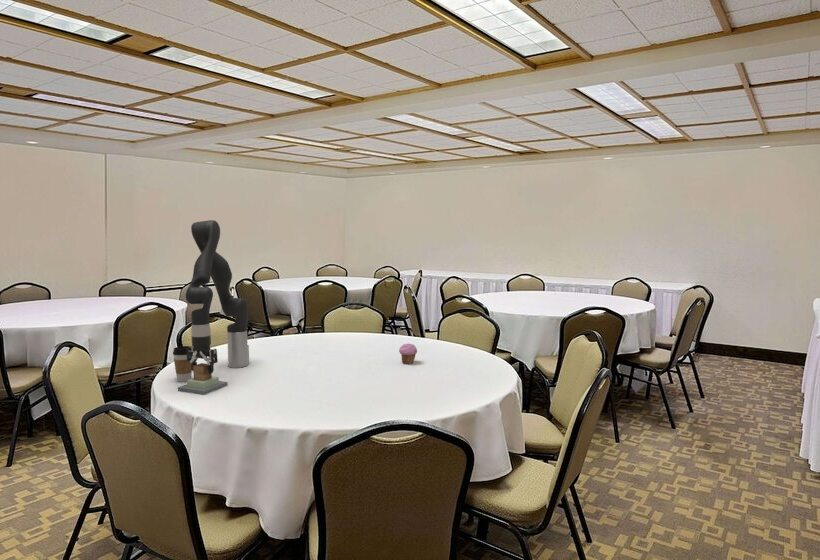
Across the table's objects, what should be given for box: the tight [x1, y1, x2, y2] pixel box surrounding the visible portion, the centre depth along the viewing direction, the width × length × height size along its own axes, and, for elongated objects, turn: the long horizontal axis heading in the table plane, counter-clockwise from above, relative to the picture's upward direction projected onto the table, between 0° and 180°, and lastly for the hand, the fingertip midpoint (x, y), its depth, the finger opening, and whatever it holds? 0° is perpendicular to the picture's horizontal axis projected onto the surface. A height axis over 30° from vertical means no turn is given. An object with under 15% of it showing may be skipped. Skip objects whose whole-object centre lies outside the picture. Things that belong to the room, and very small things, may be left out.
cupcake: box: [398, 343, 418, 365], centre depth 275 cm, size 9×9×10 cm
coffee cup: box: [172, 345, 193, 383], centre depth 245 cm, size 8×8×15 cm
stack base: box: [177, 375, 229, 396], centre depth 234 cm, size 14×14×4 cm
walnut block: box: [192, 362, 213, 381], centre depth 233 cm, size 5×5×6 cm
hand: (202, 372), depth 233 cm, fingers open, 8 cm apart
